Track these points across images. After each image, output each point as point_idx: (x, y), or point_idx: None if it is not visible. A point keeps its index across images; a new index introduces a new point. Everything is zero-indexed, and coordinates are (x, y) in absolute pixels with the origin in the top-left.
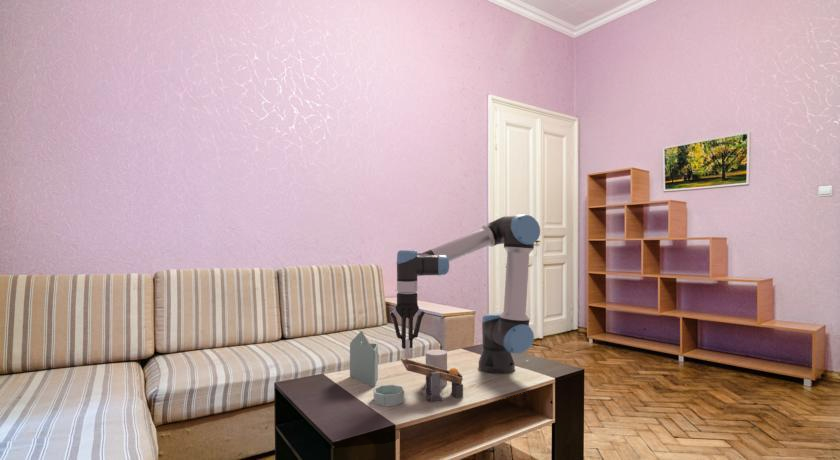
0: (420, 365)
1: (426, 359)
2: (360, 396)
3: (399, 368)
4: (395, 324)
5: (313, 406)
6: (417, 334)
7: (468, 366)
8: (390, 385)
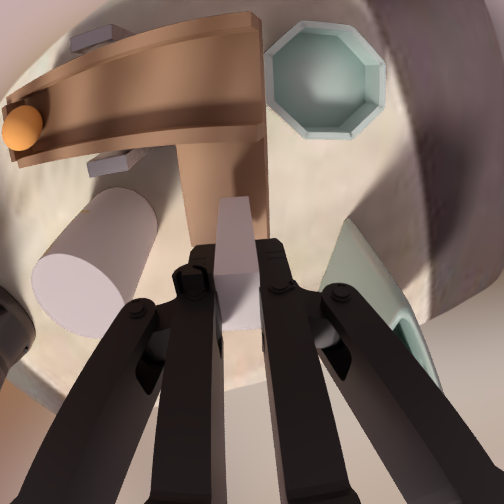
0: (157, 129)
1: (127, 271)
2: (401, 142)
3: (238, 355)
4: (443, 412)
5: (498, 113)
6: (117, 323)
7: (57, 340)
8: (314, 131)
